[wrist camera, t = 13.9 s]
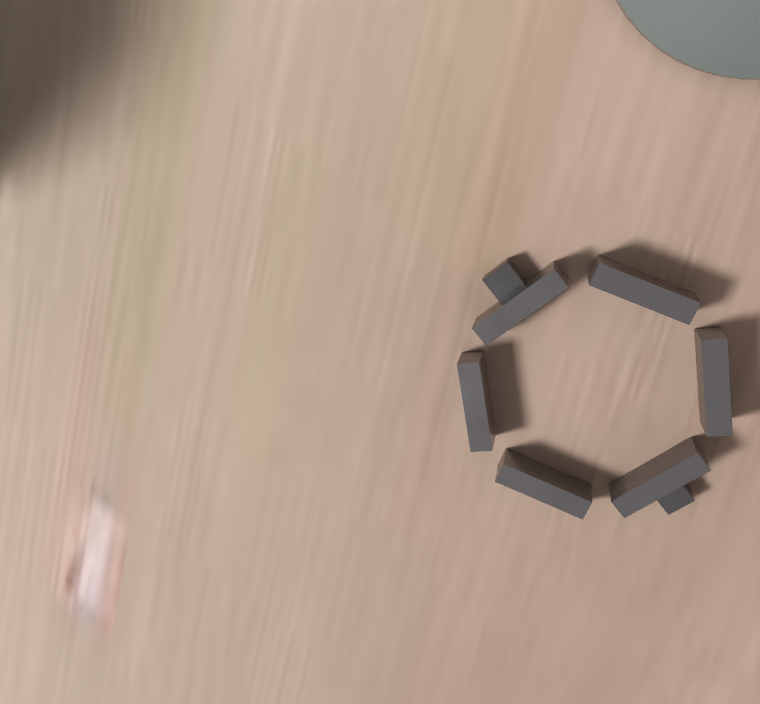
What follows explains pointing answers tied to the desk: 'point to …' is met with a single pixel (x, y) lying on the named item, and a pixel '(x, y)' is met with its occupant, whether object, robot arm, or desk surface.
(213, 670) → the desk surface
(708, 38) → the coaster
